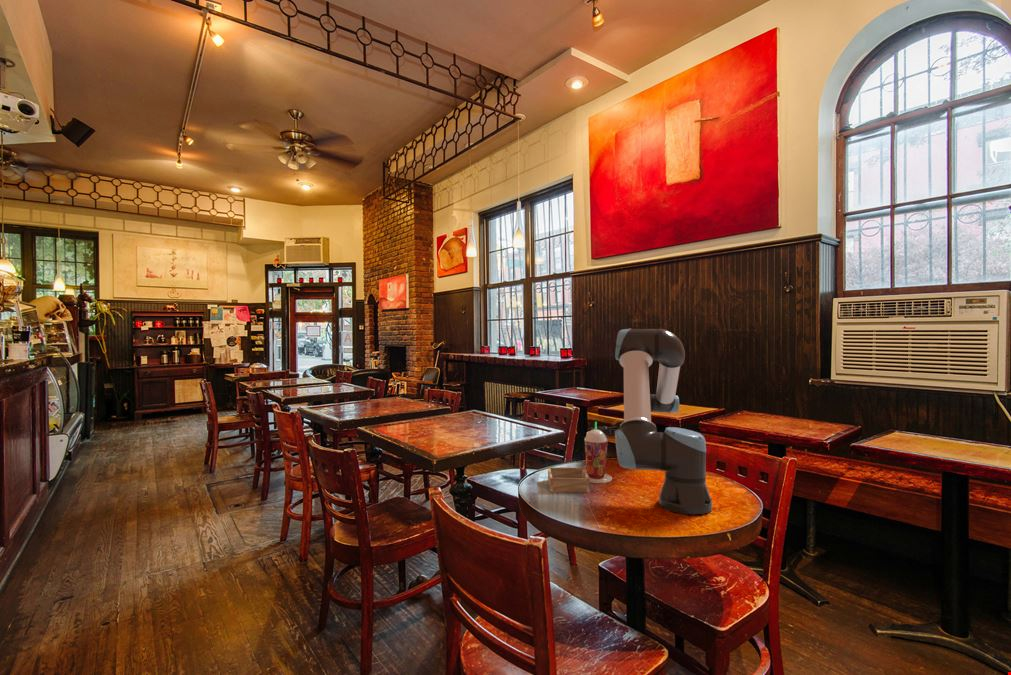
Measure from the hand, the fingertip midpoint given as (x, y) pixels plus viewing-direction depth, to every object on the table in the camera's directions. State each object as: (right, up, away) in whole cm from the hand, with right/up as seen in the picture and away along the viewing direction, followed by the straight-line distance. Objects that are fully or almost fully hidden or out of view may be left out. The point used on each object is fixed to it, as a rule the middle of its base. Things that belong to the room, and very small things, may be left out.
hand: (603, 438), depth 176 cm
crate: (-16, -13, -15) cm, 25 cm away
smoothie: (-4, -13, -6) cm, 15 cm away
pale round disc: (-4, -13, -6) cm, 15 cm away
